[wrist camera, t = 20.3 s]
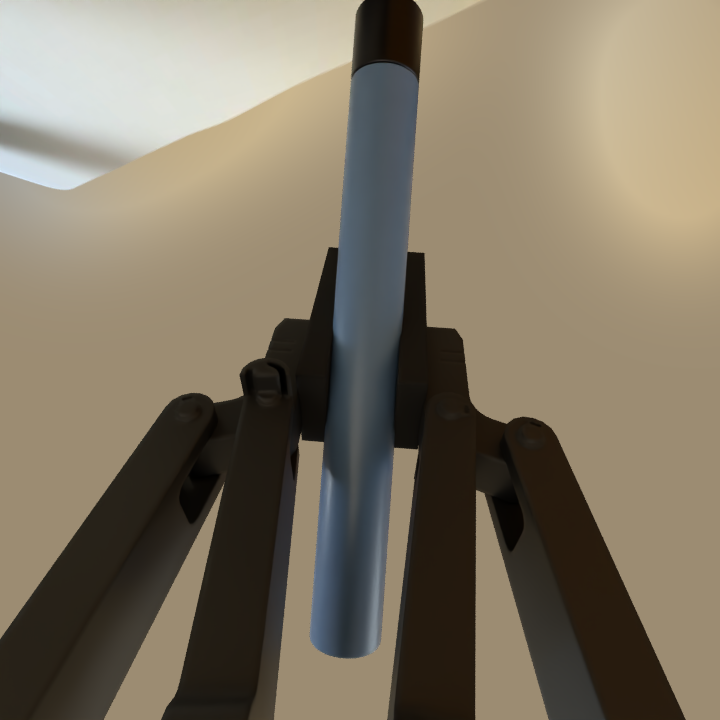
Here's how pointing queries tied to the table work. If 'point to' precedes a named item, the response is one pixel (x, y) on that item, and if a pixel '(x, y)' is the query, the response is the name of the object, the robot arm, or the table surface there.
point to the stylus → (367, 330)
